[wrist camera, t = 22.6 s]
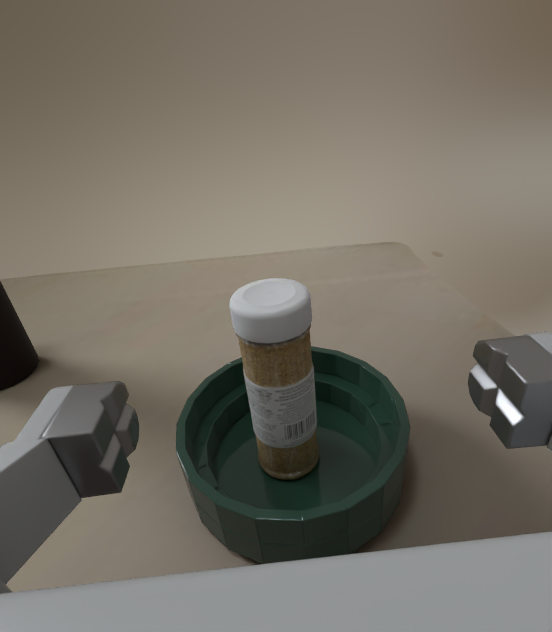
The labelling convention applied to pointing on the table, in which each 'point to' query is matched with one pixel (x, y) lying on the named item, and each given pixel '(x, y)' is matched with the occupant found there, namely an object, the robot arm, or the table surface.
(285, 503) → the green faceted bowl
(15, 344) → the vinegar
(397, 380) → the table surface
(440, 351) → the table surface
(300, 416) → the sprinkles bottle
